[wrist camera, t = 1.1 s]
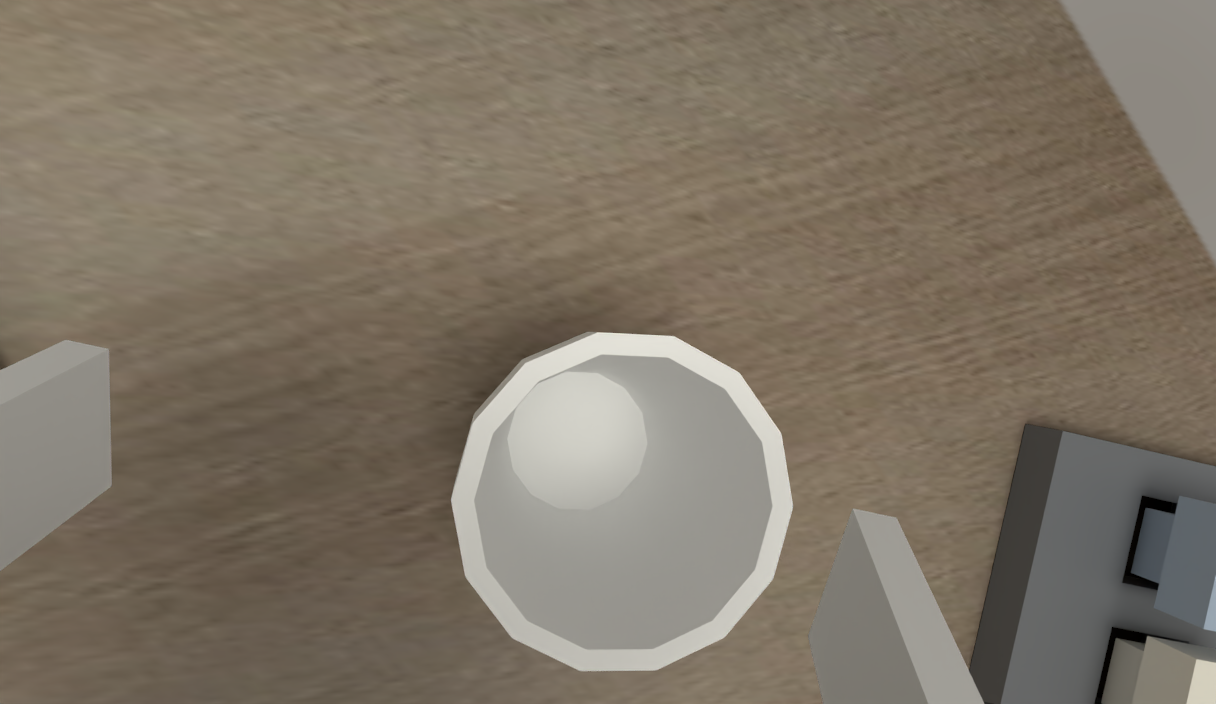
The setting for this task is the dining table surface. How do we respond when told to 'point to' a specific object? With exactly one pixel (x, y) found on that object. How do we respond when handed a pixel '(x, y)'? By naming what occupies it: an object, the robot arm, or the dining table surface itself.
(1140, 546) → the key slate
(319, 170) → the dining table surface
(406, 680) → the dining table surface
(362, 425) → the dining table surface
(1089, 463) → the keypad
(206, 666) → the dining table surface
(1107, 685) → the key cream
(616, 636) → the foam cup
